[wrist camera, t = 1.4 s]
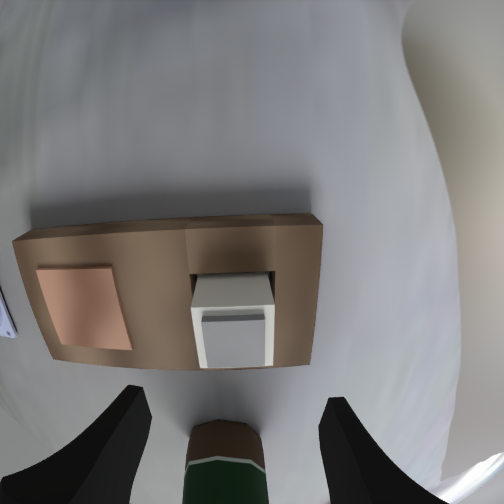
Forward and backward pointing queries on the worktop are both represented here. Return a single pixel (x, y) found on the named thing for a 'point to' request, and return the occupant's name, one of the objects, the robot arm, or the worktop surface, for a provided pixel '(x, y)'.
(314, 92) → the worktop surface
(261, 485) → the beer bottle
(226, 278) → the plug
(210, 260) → the brown wooden flat block
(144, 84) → the worktop surface
